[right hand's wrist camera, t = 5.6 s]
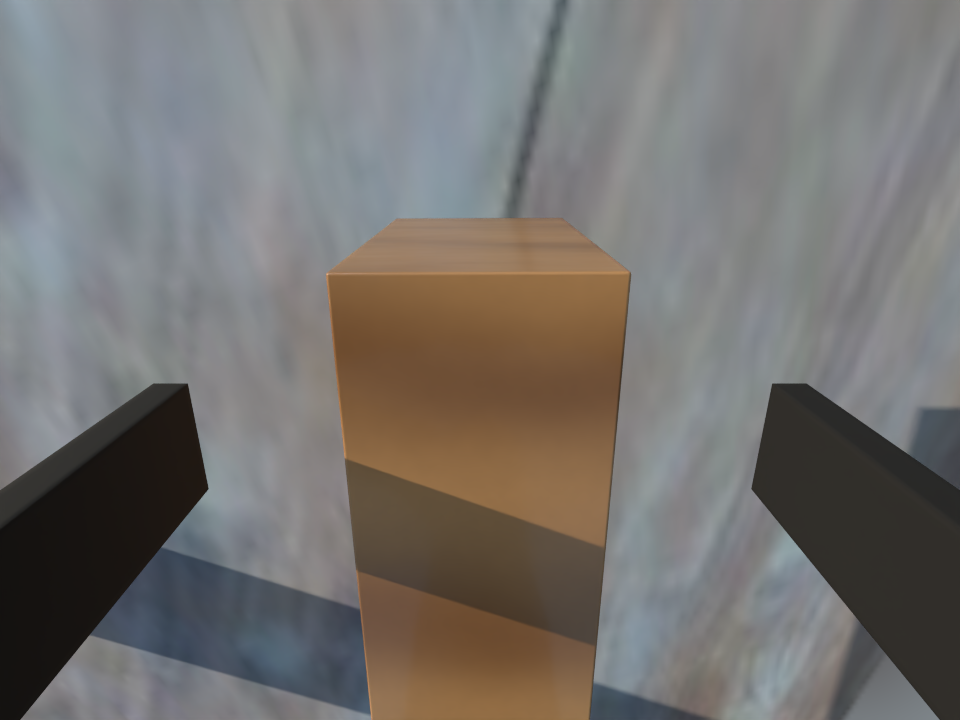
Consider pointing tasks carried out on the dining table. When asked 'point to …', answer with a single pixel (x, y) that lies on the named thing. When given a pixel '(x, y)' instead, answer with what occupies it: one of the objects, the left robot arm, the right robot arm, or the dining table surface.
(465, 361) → the bar
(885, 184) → the dining table surface
